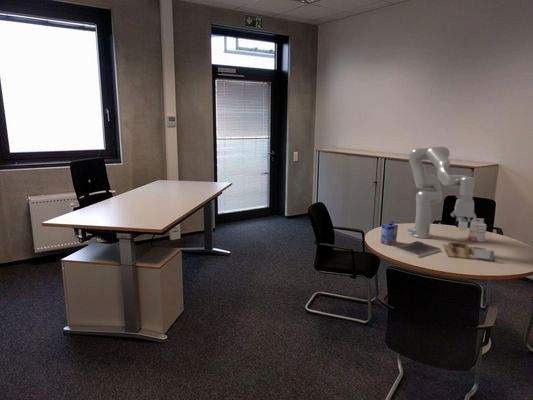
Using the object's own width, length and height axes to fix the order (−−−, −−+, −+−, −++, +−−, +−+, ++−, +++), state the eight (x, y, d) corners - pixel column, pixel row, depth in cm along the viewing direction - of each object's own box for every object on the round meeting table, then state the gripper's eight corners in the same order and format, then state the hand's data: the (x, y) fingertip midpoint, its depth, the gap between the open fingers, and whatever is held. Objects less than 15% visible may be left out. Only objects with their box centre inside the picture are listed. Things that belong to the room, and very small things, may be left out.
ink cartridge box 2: (471, 241, 257) (473, 219, 254) (468, 239, 262) (470, 217, 259) (484, 241, 256) (487, 220, 253) (481, 239, 261) (484, 218, 258)
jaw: (458, 229, 232) (459, 220, 231) (456, 226, 239) (457, 217, 237) (467, 230, 231) (468, 220, 230) (464, 227, 237) (465, 217, 236)
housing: (448, 256, 228) (448, 249, 227) (442, 245, 248) (443, 238, 247) (494, 261, 221) (495, 253, 220) (484, 249, 242) (485, 242, 241)
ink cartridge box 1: (386, 245, 248) (388, 223, 245) (379, 242, 252) (381, 221, 249) (396, 242, 253) (398, 221, 250) (390, 240, 257) (391, 219, 254)
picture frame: (417, 244, 252) (394, 250, 240) (417, 241, 251) (395, 246, 240) (440, 252, 238) (418, 258, 227) (440, 248, 238) (418, 254, 226)
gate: (474, 258, 223) (475, 250, 222) (473, 257, 225) (474, 249, 224) (492, 260, 221) (493, 251, 220) (491, 259, 223) (493, 250, 222)
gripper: (450, 197, 230) (447, 227, 233) (482, 199, 225) (478, 230, 229) (448, 195, 237) (445, 224, 240) (479, 197, 232) (475, 227, 236)
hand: (461, 227), depth 235 cm, fingers closed on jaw, 4 cm apart
